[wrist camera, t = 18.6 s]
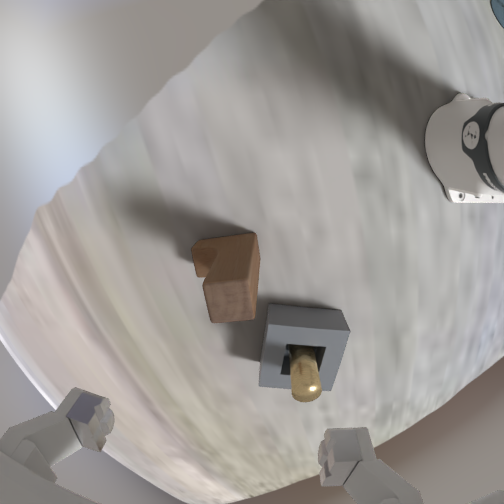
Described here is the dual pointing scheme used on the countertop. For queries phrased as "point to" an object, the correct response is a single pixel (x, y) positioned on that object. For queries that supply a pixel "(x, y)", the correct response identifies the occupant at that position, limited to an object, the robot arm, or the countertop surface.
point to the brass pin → (304, 373)
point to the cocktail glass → (498, 10)
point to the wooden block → (229, 275)
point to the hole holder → (302, 343)
